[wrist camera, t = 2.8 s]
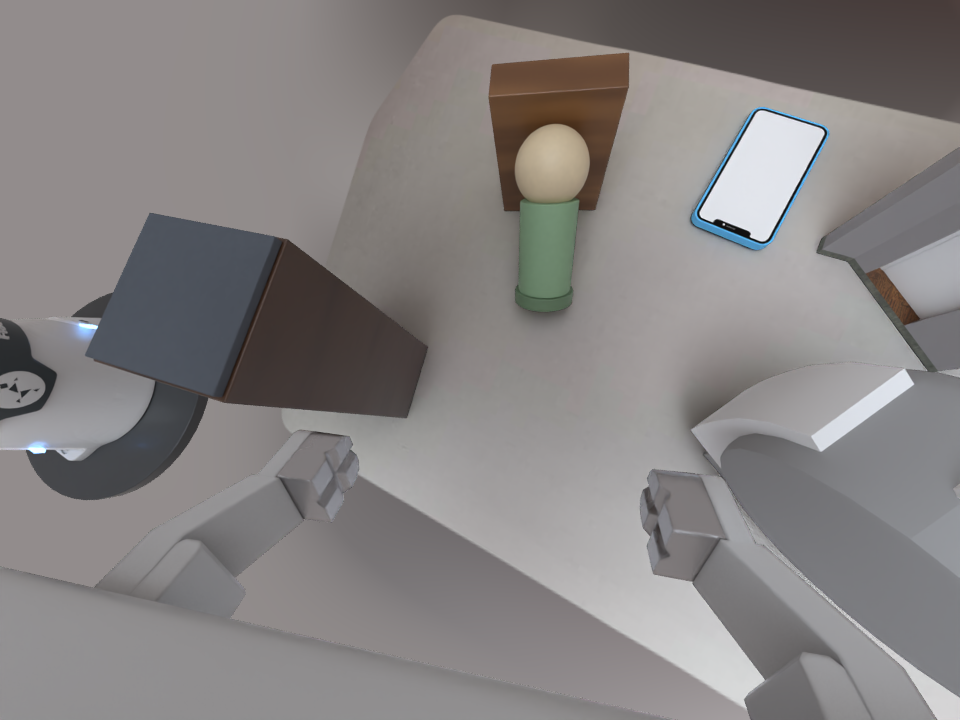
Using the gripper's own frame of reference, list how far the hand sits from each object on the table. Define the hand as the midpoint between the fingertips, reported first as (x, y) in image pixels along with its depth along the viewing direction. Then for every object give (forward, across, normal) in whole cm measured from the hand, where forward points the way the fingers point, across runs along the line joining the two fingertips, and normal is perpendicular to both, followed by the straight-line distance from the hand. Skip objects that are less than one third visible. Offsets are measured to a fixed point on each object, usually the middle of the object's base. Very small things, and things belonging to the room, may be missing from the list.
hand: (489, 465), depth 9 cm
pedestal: (+22, +16, +14) cm, 30 cm away
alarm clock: (+17, -22, +20) cm, 34 cm away
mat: (+6, +16, -2) cm, 17 cm away
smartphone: (+38, -22, -2) cm, 44 cm away
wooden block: (+37, -1, -1) cm, 37 cm away
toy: (+31, -1, +5) cm, 31 cm away
